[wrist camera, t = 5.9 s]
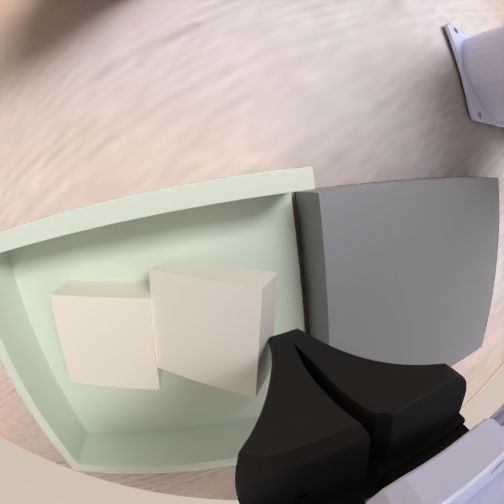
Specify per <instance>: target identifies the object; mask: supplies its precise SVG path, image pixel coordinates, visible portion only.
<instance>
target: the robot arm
mask: <svg viewBox="0 0 504 504" xmlns="http://www.w3.org/2000/svg"><path fill="white" fill-rule="evenodd" d="M445 30H446V32H447V35H448V38H449V41H450V43H451V46H452V49H453V52H454V56H455V59H456V62H457V65H458V69H459V72H460V76H461V80H462V83H463V87H464V92H465V96H466V100H467V105H468V110H469V115H470V117H471V119H472V120H473V121H476V122H481V123H485V124H490V125H494V126H498V127H502V128H504V26H501V27H498V28H495V29H492V30H489V31H486V32H483V33H480V34H478V35H475V36H474V35H472V34H470V33H468V32H466V31H464V30H462V29H460V28H458V27H456V26H454V25H452V24H449V23H448V24H445ZM268 342H269V346H270V350H271V356H272V357H271V374H270V382H269V387H268V391H267V395H266V399H265V402H264V405H263V408H262V411H261V413H260V416H259V418H258V420H257V422H256V424H255V426H254V428H253V430H252V432H251V434H250V436H249V437H248V439H247V440H246V442H245V443H244V445H243V446H242V448H241V449H240V451H239V453H238V458H237V464H236V473H235V486H236V492H237V497H238V501H239V503H240V504H504V405H502V406H501V407H500V408H499V409H498V410H497V411H496V412H495V413H494V414H493V415H492V416H491V417H490V418H488V419H485V420H483V421H482V422H480V423H479V424H478V425H476V426H475V427H473V428H472V429H471V430H469V429H468V428H467V427H466V426H465V425H463V423H464V422H465V419H464V417H462V415H460V414H459V411H460V409H461V406H462V403H463V399H464V396H465V392H466V380H465V379H464V377H463V376H461V375H460V374H459V373H458V372H456V371H455V370H454V369H452V368H451V367H450V366H448V365H447V364H445V363H444V364H430V365H404V364H393V363H386V362H380V361H375V360H370V359H366V358H363V357H359V356H355V355H352V354H349V353H347V352H344V351H342V350H339V349H337V348H334V347H332V346H330V345H328V344H326V343H324V342H322V341H320V340H318V339H316V338H314V337H312V336H310V335H309V334H307V333H305V332H303V331H301V330H300V329H298V328H297V329H294V330H291V331H288V332H285V333H282V334H279V335H275V336H272V337H270V338H269V340H268Z"/></svg>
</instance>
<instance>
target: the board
mask: <svg viewBox="0 0 504 504" xmlns="http://www.w3.org/2000/svg"><path fill="white" fill-rule="evenodd" d="M295 194H296V202H297V210H298V219H299V227H300V237H301V246H302V256H303V266H304V277H305V288H306V300H307V313H308V327H309V335H310V336H312V337H314V338H316V339H318V340H320V341H322V342H324V343H326V344H328V345H330V346H332V347H334V348H337V349H339V350H342V351H344V352H347V353H349V354H352V355H355V356H359V357H363V358H366V359H370V360H375V361H380V362H386V363H393V364H404V365H430V364H444V363H445V364H447V365H448V366H452V365H454V364H455V363H457V362H459V361H460V360H462V359H464V358H465V357H467V356H468V355H470V354H471V353H473V352H474V351H476V350H478V349H479V348H480V347H481V346H482V342H483V338H484V334H485V330H486V326H487V321H488V316H489V311H490V306H491V300H492V294H493V287H494V280H495V272H496V263H497V252H498V236H499V186H498V178H487V177H471V176H464V177H442V178H424V179H410V180H396V181H384V182H373V183H363V184H353V185H343V186H334V187H325V188H317V189H311V190H304V191H296V192H295Z"/></svg>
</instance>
